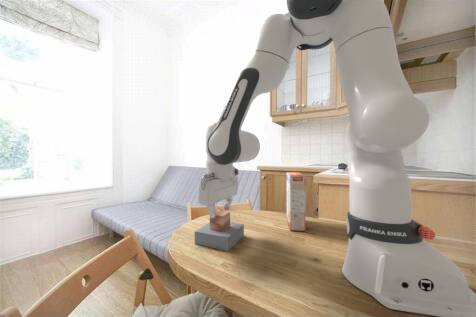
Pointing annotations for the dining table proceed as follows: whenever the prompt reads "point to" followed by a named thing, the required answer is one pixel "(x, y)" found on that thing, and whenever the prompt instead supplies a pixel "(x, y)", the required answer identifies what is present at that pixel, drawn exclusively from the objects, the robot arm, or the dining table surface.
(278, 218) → the dining table surface
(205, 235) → the base
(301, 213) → the cracker box
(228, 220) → the cube
